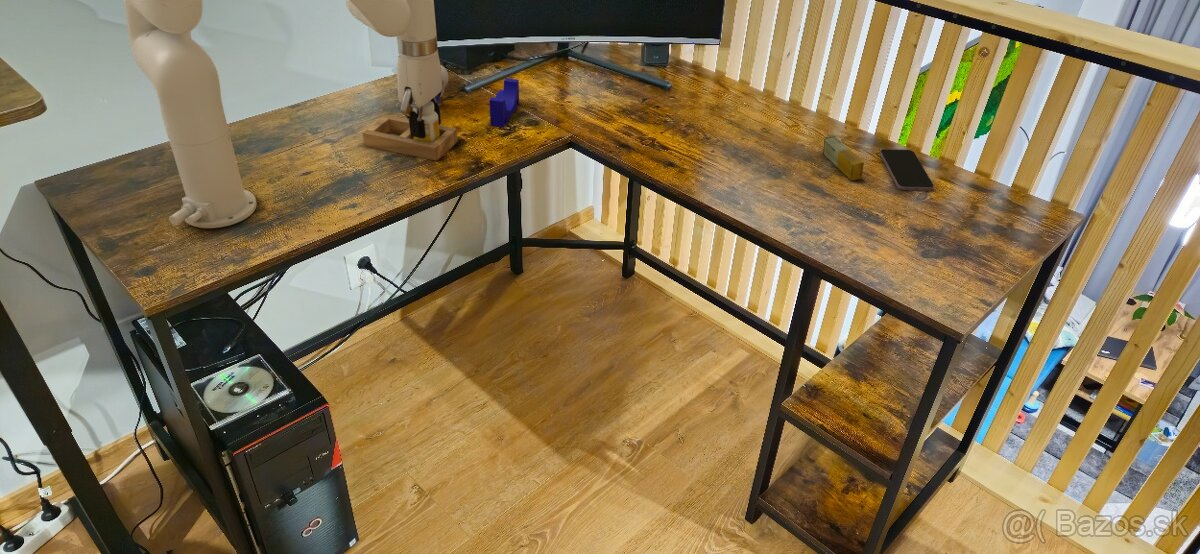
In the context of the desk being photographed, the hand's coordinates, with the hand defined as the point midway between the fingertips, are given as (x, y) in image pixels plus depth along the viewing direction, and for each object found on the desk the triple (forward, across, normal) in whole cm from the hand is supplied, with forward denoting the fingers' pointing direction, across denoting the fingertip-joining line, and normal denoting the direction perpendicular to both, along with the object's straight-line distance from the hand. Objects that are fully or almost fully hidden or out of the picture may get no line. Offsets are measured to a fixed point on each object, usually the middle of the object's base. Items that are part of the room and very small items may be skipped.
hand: (426, 129), depth 172 cm
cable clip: (+4, -20, +8) cm, 22 cm away
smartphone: (+4, -28, +94) cm, 99 cm away
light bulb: (+4, -18, -7) cm, 20 cm away
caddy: (+4, 0, -4) cm, 6 cm away
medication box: (+4, -25, +82) cm, 85 cm away
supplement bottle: (+4, 0, 0) cm, 4 cm away
